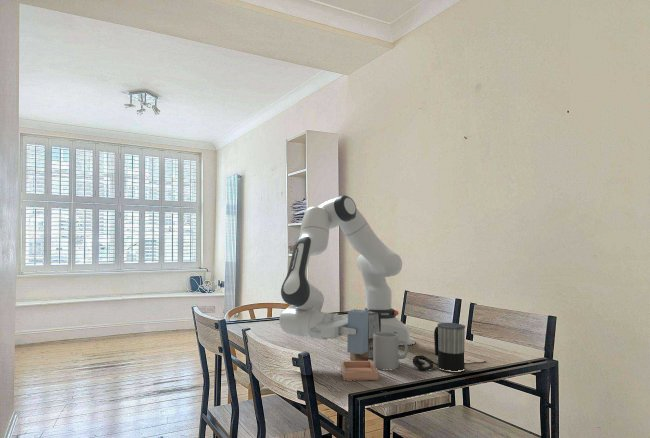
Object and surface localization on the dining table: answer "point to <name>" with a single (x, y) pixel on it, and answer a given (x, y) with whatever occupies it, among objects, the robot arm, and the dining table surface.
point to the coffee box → (373, 329)
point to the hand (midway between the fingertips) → (360, 329)
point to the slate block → (358, 331)
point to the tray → (358, 370)
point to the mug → (387, 350)
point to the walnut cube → (359, 357)
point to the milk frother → (446, 348)
